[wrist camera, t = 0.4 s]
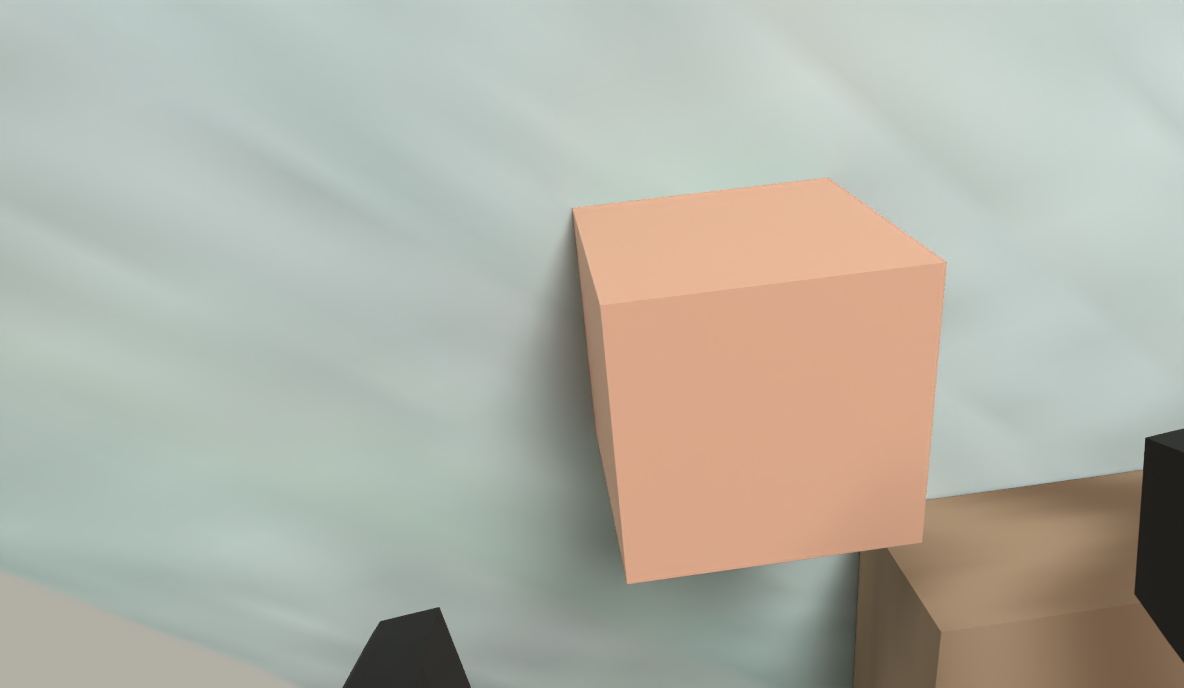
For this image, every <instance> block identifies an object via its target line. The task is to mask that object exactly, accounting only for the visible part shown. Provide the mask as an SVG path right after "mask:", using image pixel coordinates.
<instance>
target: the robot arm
mask: <svg viewBox="0 0 1184 688" xmlns="http://www.w3.org/2000/svg"><path fill="white" fill-rule="evenodd" d="M1134 594H1135V596H1136V597H1137V599H1138V600H1139V601H1140V603H1141V604H1142V606H1143V607H1144V609H1145V610H1146V611H1147V613H1148V614H1149V616H1150V617H1151V618H1152V620H1153V621H1154V623H1155V624H1156V626H1157V627H1158V628H1159V630H1160V631H1161V633H1162V634H1163V636H1164V637H1165V638H1166V640H1167V641H1168V643H1169V644H1170V645H1171V647H1172V648H1173V649H1174V651H1175V652H1176V653H1177V655H1178V656H1179V657H1180V659H1181V660H1182V661H1183V663H1184V429H1180V430H1176V431H1171V432H1167V433H1163V434H1159V435H1155V436H1151V437H1146V438H1145V451H1144V465H1143V479H1142V493H1141V507H1140V521H1139V535H1138V548H1137V562H1136V576H1135V590H1134ZM343 688H471V687H470V684H469V681H468V679H467V676H466V674H465V671H464V669H463V666H462V664H461V661H460V658H459V656H458V653H457V651H456V648H455V646H454V643H453V641H452V638H451V636H450V633H449V630H448V628H447V625H446V623H445V620H444V618H443V615H442V613H441V610H440V607H438V608H434V609H429V610H425V611H421V612H417V613H413V614H409V615H404V616H400V617H396V618H392V619H388V620H384V621H380V623H379V624H378V626H377V627H376V629H375V630H374V632H373V633H372V635H371V637H370V639H369V641H368V642H367V644H366V646H365V648H364V649H363V651H362V653H361V655H360V657H359V658H358V660H357V662H356V664H355V666H354V668H353V669H352V671H351V673H350V675H349V677H348V679H347V680H346V682H345V684H344V686H343Z"/></svg>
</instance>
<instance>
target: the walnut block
mask: <svg viewBox="0 0 1184 688" xmlns="http://www.w3.org/2000/svg"><path fill="white" fill-rule="evenodd" d="M1142 479H1143V470H1140V471H1132V472H1125V473H1118V474H1111V475H1104V476H1096V477H1089V478H1082V479H1075V480H1068V481H1060V482H1053V483H1046V484H1039V485H1032V486H1024V487H1017V488H1010V489H1003V490H996V491H988V492H981V493H974V494H967V495H960V496H952V497H945V498H938V499H931V500H926V503H925V515H924V526H923V538H922V543H915V544H908V545H901V546H894V547H887V548H880V549H873V550H866V551H860V562H859V582H858V601H857V621H856V641H855V661H854V681H853V688H1184V663H1183V661H1182V660H1181V659H1180V657H1179V656H1178V655H1177V653H1176V652H1175V651H1174V649H1173V648H1172V647H1171V645H1170V644H1169V643H1168V641H1167V640H1166V638H1165V637H1164V636H1163V634H1162V633H1161V631H1160V630H1159V628H1158V627H1157V626H1156V624H1155V623H1154V621H1153V620H1152V618H1151V617H1150V616H1149V614H1148V613H1147V611H1146V610H1145V609H1144V607H1143V606H1142V604H1141V603H1140V601H1139V600H1138V599H1137V597H1136V596H1135V594H1134V590H1135V576H1136V562H1137V548H1138V535H1139V521H1140V507H1141V493H1142Z"/></svg>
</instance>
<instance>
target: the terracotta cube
mask: <svg viewBox="0 0 1184 688" xmlns="http://www.w3.org/2000/svg"><path fill="white" fill-rule="evenodd" d="M572 209H573V218H574V228H575V237H576V247H577V256H578V266H579V275H580V285H581V294H582V304H583V313H584V323H585V332H586V342H587V351H588V361H589V370H590V380H591V389H592V398H593V408H594V417H595V427H596V434H597V439H598V444H599V449H600V454H601V459H602V464H603V469H604V473H605V478H606V483H607V488H608V493H609V498H610V503H611V508H612V513H613V518H614V523H615V528H616V533H617V537H618V542H619V547H620V552H621V557H622V562H623V567H624V572H625V577H626V582H627V584H633V583H640V582H647V581H654V580H661V579H668V578H675V577H682V576H689V575H696V574H703V573H711V572H718V571H725V570H732V569H739V568H746V567H753V566H760V565H767V564H774V563H781V562H788V561H795V560H802V559H809V558H816V557H824V556H831V555H838V554H845V553H852V552H859V551H866V550H873V549H880V548H887V547H894V546H901V545H908V544H915V543H922V538H923V526H924V515H925V503H926V492H927V481H928V469H929V458H930V446H931V435H932V424H933V412H934V401H935V389H936V378H937V367H938V355H939V344H940V332H941V321H942V310H943V298H944V287H945V275H946V264H947V262H946V261H944V260H943V259H942V258H940V257H939V256H937V255H936V254H935V253H933V252H932V251H930V250H929V249H928V248H926V247H925V246H923V245H922V244H920V243H919V242H918V241H916V240H915V239H913V238H912V237H911V236H909V235H908V234H906V233H905V232H904V231H902V230H901V229H899V228H898V227H897V226H895V225H894V224H892V223H891V222H890V221H888V220H887V219H885V218H884V217H882V216H881V215H880V214H878V213H877V212H875V211H874V210H873V209H871V208H870V207H868V206H867V205H866V204H864V203H863V202H861V201H860V200H859V199H857V198H856V197H854V196H853V195H852V194H850V193H849V192H847V191H846V190H845V189H843V188H842V187H840V186H839V185H837V184H836V183H835V182H833V181H832V180H830V179H829V178H821V179H813V180H804V181H796V182H787V183H779V184H770V185H762V186H754V187H745V188H737V189H728V190H720V191H711V192H703V193H695V194H686V195H678V196H669V197H661V198H653V199H644V200H636V201H627V202H619V203H610V204H602V205H594V206H585V207H577V208H572Z"/></svg>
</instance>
